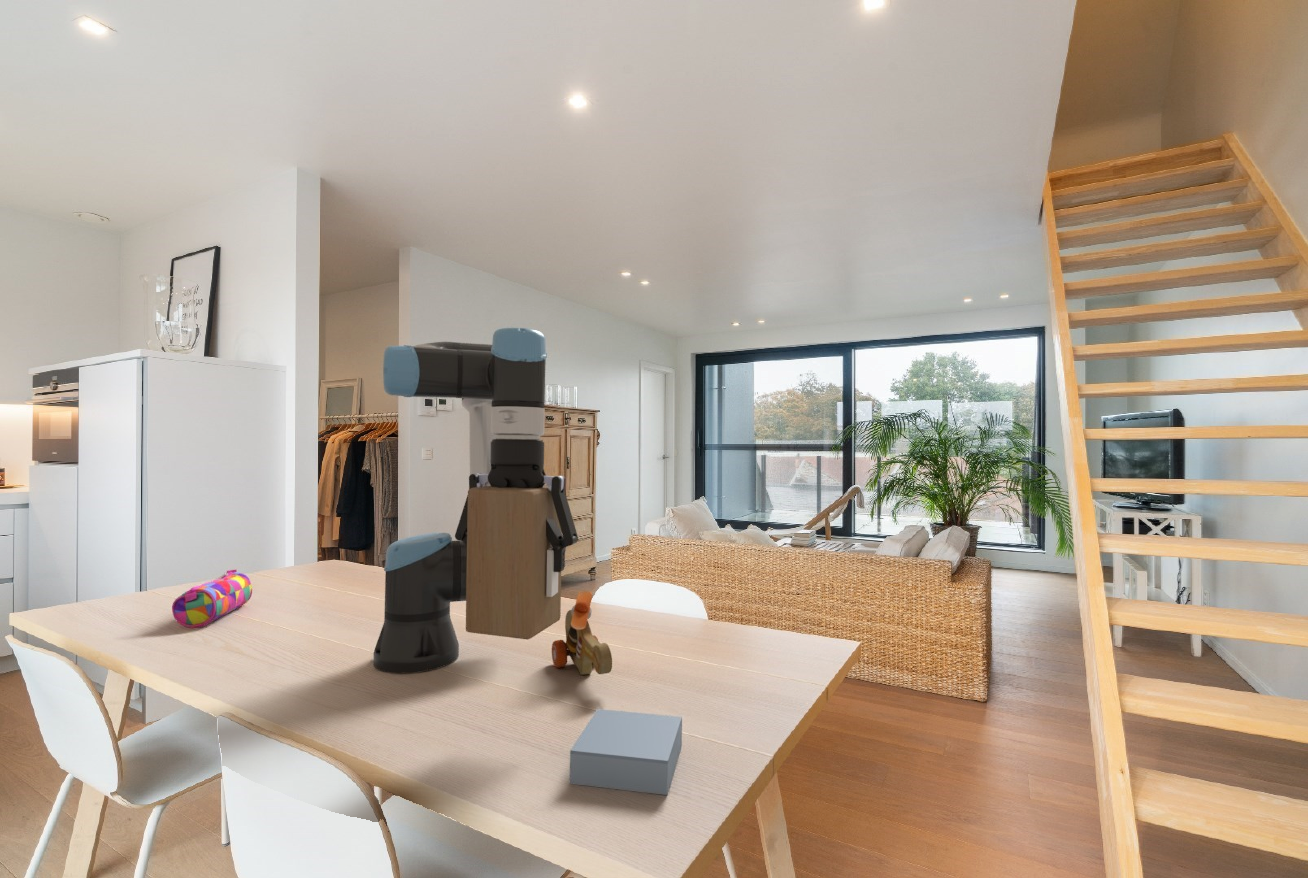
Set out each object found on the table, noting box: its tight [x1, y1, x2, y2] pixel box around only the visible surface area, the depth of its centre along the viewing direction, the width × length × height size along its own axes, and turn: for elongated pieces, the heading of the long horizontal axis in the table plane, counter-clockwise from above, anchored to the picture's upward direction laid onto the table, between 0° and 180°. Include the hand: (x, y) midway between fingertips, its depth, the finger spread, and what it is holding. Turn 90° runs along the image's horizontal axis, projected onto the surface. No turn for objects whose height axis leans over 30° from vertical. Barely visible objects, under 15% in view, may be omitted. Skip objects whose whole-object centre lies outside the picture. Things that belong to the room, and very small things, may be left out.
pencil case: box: [171, 568, 253, 629], centre depth 144 cm, size 22×9×9 cm, turn 15°
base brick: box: [569, 708, 683, 796], centre depth 79 cm, size 12×12×4 cm
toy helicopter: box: [551, 590, 613, 676], centre depth 109 cm, size 8×21×14 cm, turn 25°
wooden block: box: [465, 484, 562, 640], centre depth 88 cm, size 10×10×20 cm
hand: (515, 592), depth 88 cm, fingers closed on wooden block, 10 cm apart
